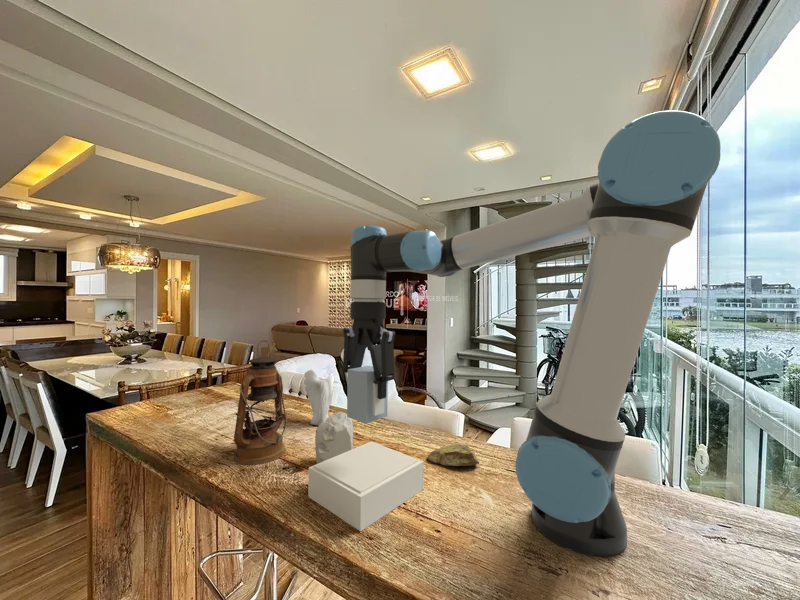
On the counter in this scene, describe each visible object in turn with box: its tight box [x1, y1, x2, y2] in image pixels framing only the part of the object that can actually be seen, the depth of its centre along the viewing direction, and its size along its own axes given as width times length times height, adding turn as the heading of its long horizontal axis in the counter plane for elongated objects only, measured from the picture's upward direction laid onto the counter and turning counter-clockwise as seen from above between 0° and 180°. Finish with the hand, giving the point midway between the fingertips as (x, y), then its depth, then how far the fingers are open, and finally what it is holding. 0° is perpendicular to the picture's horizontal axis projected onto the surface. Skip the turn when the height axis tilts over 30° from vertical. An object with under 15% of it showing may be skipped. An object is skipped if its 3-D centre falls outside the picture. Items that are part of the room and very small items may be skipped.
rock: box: [427, 444, 480, 467], centre depth 87 cm, size 12×7×10 cm
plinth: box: [307, 440, 424, 532], centre depth 72 cm, size 16×18×6 cm
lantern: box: [232, 340, 288, 466], centre depth 90 cm, size 17×13×30 cm
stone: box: [315, 411, 355, 464], centre depth 87 cm, size 10×5×12 cm, turn 122°
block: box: [346, 365, 389, 425], centre depth 72 cm, size 6×6×10 cm
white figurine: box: [303, 369, 335, 426], centre depth 113 cm, size 8×8×18 cm
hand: (367, 410), depth 72 cm, fingers closed on block, 6 cm apart
